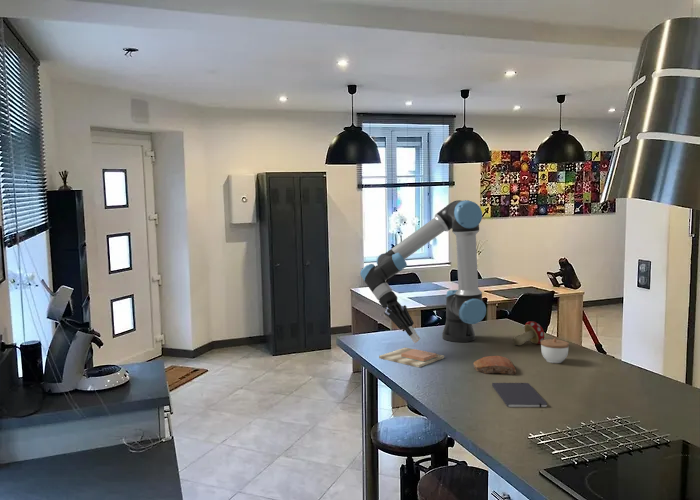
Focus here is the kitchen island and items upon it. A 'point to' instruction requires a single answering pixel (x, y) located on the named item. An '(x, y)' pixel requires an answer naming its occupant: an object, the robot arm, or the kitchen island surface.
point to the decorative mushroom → (530, 334)
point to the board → (396, 357)
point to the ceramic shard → (495, 365)
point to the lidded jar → (554, 350)
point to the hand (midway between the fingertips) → (417, 340)
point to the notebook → (519, 395)
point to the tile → (418, 355)
